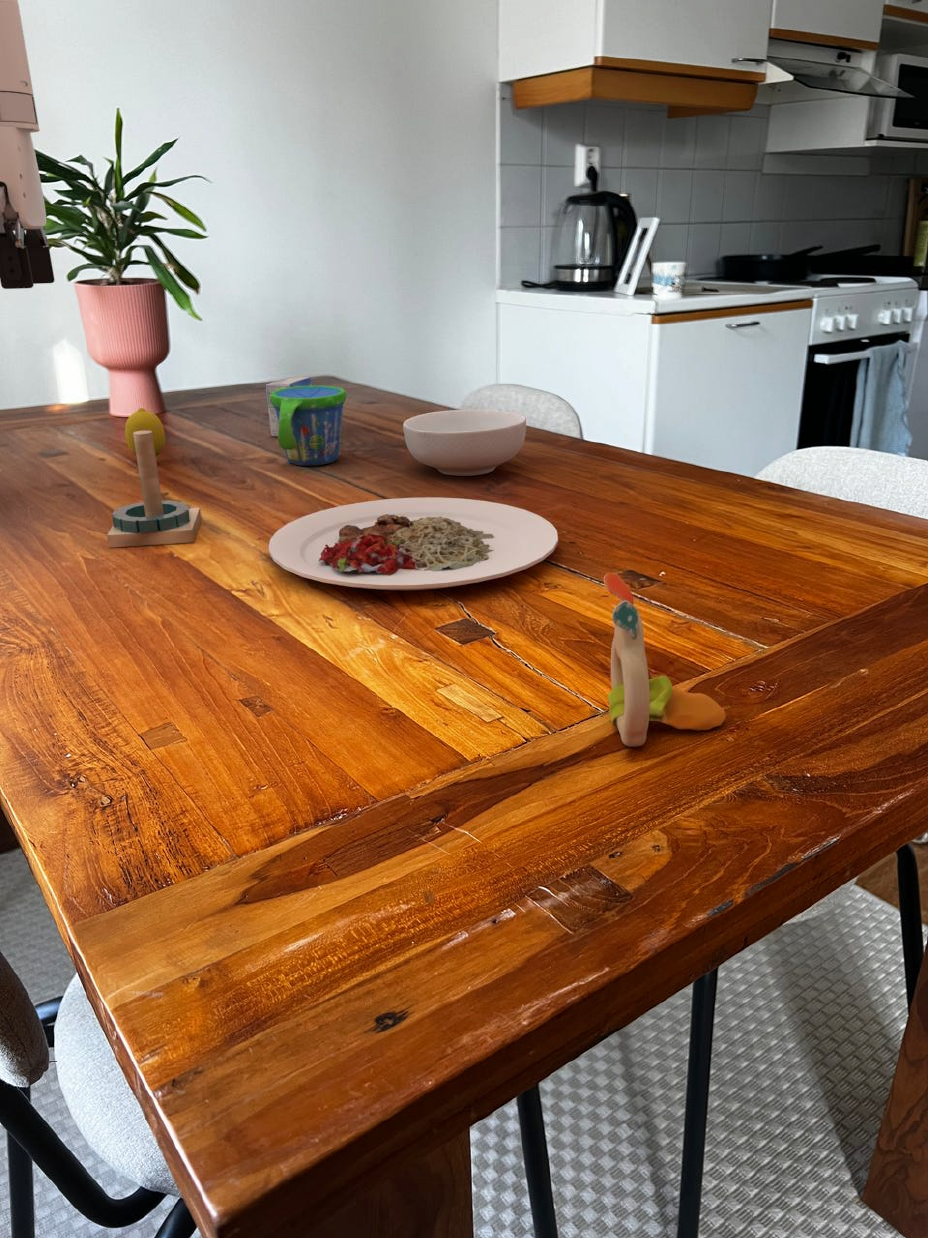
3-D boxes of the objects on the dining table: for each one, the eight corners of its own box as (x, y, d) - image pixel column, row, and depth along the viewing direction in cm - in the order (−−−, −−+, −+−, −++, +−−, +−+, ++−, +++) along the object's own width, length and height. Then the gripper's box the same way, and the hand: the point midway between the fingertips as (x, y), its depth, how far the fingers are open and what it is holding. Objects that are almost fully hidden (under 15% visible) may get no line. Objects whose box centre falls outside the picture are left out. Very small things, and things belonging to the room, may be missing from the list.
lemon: (122, 466, 141) (113, 410, 138) (142, 457, 146) (134, 404, 143) (156, 467, 139) (148, 411, 136) (175, 459, 144) (168, 405, 141)
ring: (109, 535, 104) (107, 523, 103) (120, 514, 111) (118, 502, 111) (187, 530, 105) (186, 517, 105) (193, 509, 113) (191, 498, 112)
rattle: (721, 771, 60) (738, 600, 56) (591, 755, 62) (597, 589, 58) (725, 716, 67) (740, 559, 63) (607, 703, 69) (613, 551, 65)
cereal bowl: (483, 450, 146) (482, 403, 143) (550, 472, 133) (550, 420, 130) (383, 466, 137) (381, 417, 135) (445, 491, 124) (443, 436, 122)
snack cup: (315, 476, 133) (309, 401, 129) (251, 470, 137) (244, 397, 133) (371, 453, 146) (367, 384, 142) (311, 447, 150) (306, 381, 146)
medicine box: (294, 438, 157) (289, 384, 154) (270, 436, 158) (265, 383, 155) (316, 428, 164) (312, 376, 160) (292, 427, 165) (287, 376, 162)
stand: (109, 547, 105) (91, 442, 100) (122, 524, 113) (107, 426, 109) (193, 542, 106) (180, 438, 102) (201, 519, 114) (189, 422, 110)
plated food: (587, 524, 110) (588, 495, 108) (507, 620, 84) (507, 584, 82) (349, 504, 119) (347, 477, 118) (212, 585, 93) (207, 552, 92)
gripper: (-14, 123, 110) (15, 282, 116) (-67, 106, 94) (-30, 291, 100) (55, 122, 111) (80, 280, 117) (14, 106, 95) (46, 289, 101)
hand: (29, 285), depth 109 cm, fingers open, 9 cm apart
